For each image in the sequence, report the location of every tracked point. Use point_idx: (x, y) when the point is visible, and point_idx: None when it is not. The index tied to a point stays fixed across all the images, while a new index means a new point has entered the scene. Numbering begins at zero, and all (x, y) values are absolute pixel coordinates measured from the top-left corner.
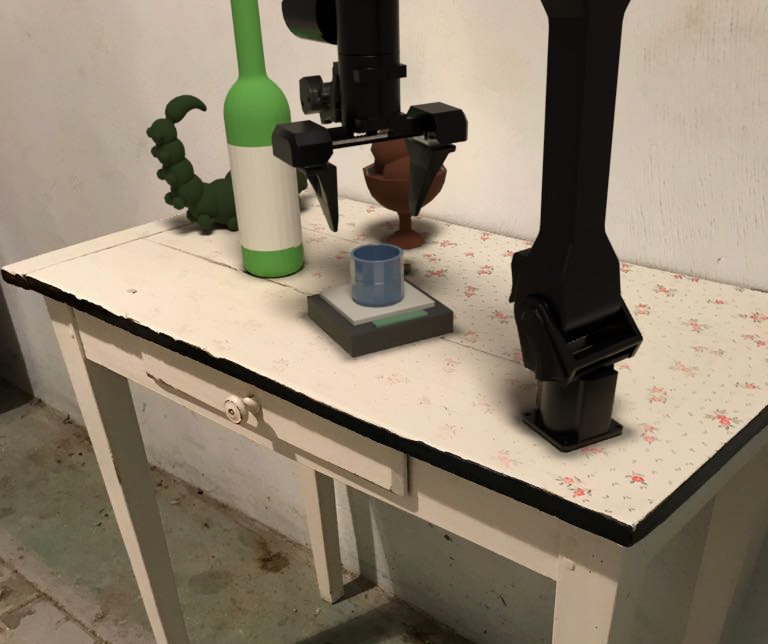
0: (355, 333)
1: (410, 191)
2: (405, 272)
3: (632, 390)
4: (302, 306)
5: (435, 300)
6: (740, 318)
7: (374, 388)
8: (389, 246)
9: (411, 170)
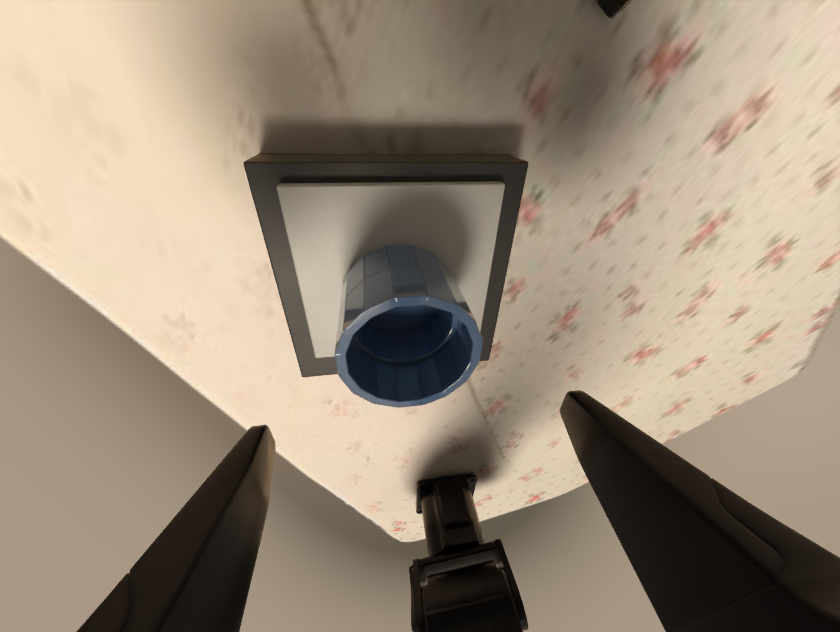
0: (310, 372)
1: (621, 459)
2: (609, 16)
3: (523, 467)
4: (252, 70)
5: (493, 318)
6: (714, 408)
7: (311, 418)
8: (467, 328)
9: (709, 546)
